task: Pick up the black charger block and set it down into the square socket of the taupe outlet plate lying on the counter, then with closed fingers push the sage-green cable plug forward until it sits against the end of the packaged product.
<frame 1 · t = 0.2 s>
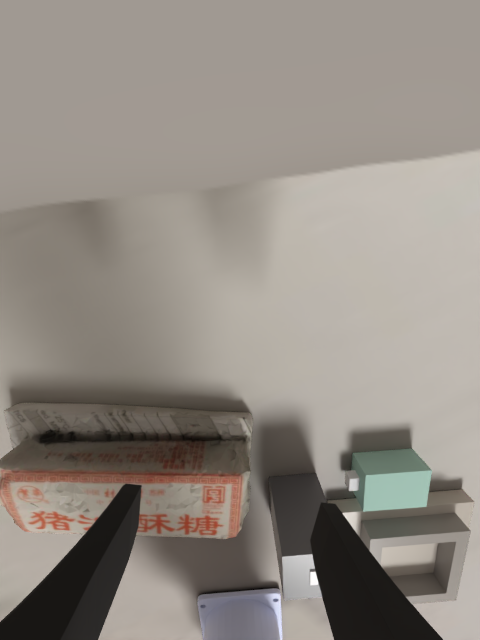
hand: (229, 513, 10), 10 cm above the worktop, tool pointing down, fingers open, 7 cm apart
cable plug: (379, 465, 23), on the worktop
charger: (292, 493, 23), on the worktop
packaged product: (141, 452, 22), on the worktop
outlet plate: (390, 537, 24), on the worktop
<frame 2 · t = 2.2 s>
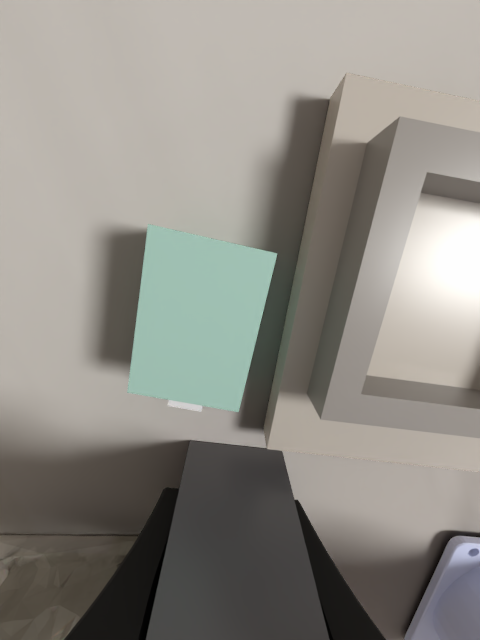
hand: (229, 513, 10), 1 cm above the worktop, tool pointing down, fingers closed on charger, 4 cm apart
cable plug: (206, 308, 10), on the worktop
charger: (229, 482, 12), on the worktop, touching gripper
packaged product: (117, 639, 15), on the worktop
outlet plate: (420, 307, 10), on the worktop
when the fingers open (4 cm above the worktop, at t = 4.9 s): charger stays where it is, resting on outlet plate.
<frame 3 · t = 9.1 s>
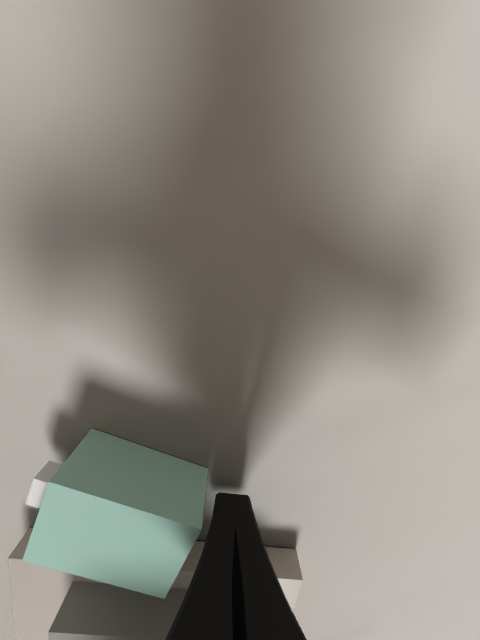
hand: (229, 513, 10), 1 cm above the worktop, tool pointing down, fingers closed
cable plug: (137, 481, 11), on the worktop, touching gripper
outlet plate: (159, 613, 13), on the worktop
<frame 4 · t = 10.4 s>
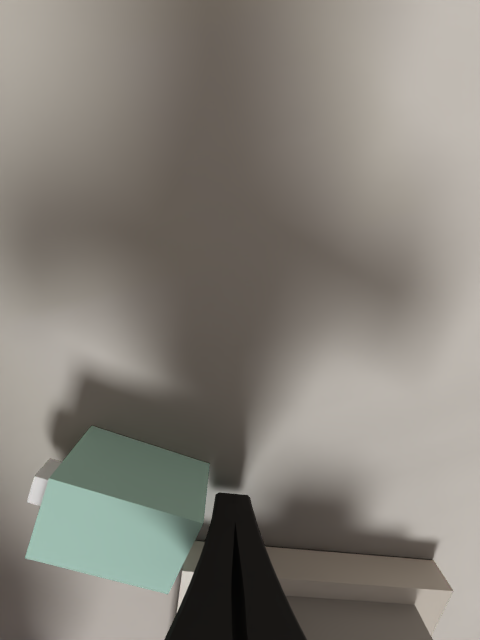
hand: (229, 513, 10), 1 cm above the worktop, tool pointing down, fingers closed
cable plug: (139, 477, 11), on the worktop, touching gripper
outlet plate: (293, 622, 14), on the worktop
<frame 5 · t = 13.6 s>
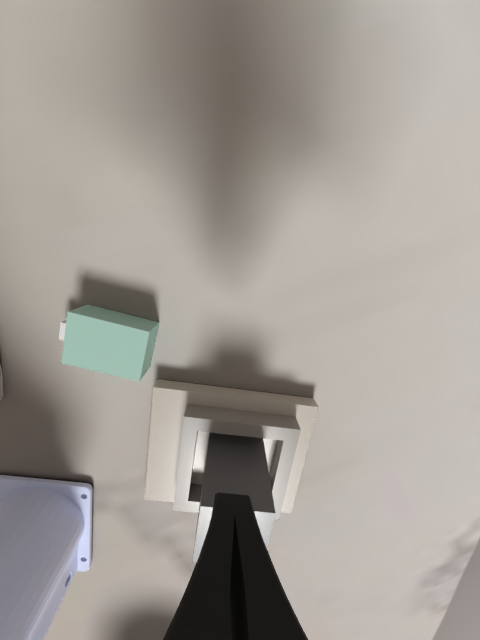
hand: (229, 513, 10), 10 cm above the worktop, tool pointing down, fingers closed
cable plug: (121, 335, 19), on the worktop
charger: (232, 455, 20), point 1 cm above the worktop, touching outlet plate
outlet plate: (228, 444, 21), on the worktop
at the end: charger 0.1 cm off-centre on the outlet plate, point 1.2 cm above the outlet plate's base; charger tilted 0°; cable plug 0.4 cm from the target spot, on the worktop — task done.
